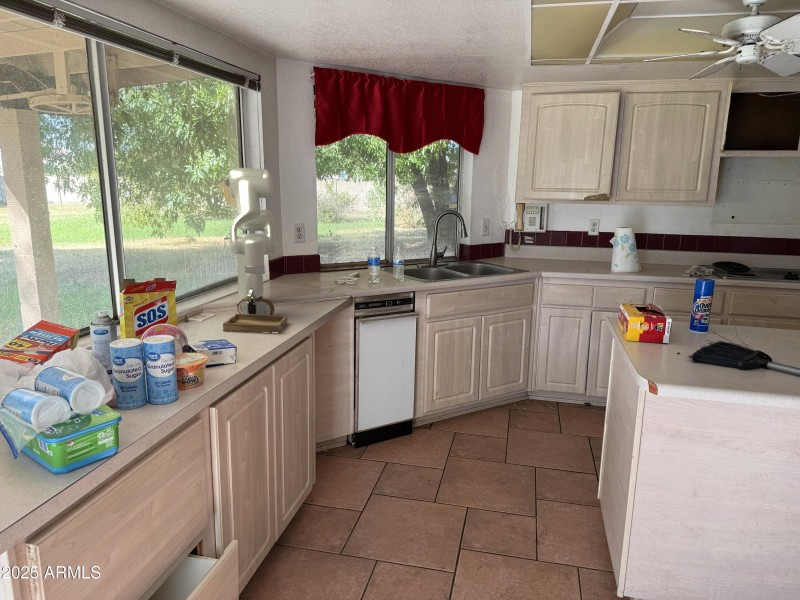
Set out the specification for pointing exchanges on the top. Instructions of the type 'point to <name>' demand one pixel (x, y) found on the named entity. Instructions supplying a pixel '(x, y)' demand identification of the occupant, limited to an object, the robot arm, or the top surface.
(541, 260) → the top surface
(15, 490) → the top surface
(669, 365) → the top surface
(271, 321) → the walnut tray
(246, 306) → the tin
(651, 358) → the top surface
